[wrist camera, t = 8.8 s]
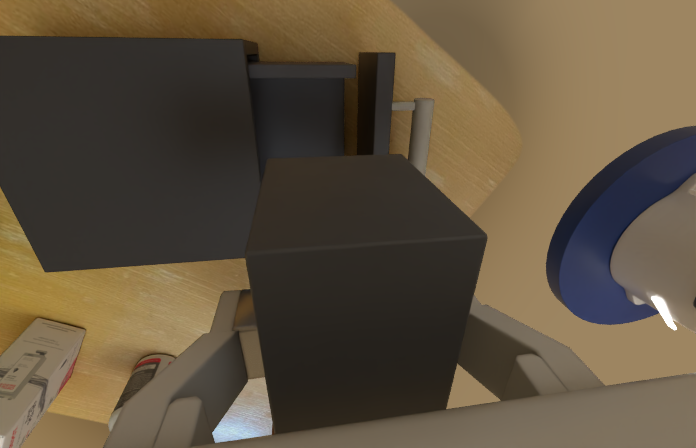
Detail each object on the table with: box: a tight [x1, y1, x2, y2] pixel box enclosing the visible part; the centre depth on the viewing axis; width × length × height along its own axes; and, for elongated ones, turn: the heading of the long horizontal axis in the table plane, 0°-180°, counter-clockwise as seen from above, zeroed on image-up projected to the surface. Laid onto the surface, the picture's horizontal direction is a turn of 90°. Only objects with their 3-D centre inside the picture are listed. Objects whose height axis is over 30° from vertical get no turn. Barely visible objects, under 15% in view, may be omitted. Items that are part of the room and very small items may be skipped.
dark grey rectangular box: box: [245, 154, 487, 434], centre depth 9 cm, size 4×8×5 cm, turn 179°
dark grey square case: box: [0, 36, 262, 272], centre depth 24 cm, size 16×15×9 cm
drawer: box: [247, 52, 434, 179], centre depth 26 cm, size 19×13×7 cm
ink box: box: [0, 318, 86, 448], centre depth 31 cm, size 9×5×12 cm, turn 149°
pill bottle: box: [108, 354, 175, 432], centre depth 36 cm, size 5×5×10 cm
